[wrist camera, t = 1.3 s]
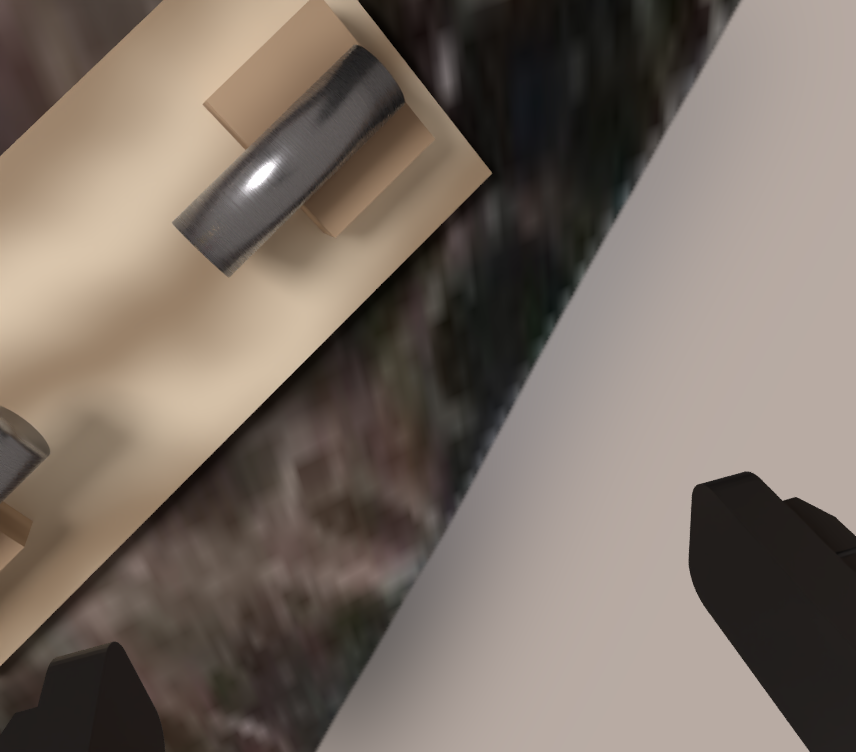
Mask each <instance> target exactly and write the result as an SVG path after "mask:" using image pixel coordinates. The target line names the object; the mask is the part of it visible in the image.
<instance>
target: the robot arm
mask: <svg viewBox="0 0 856 752" xmlns="http://www.w3.org/2000/svg"><path fill="white" fill-rule="evenodd" d="M689 569H690V575H691V578H692V582H693V585H694V587H695V589H696V592H697V594H698V596H699V598H700V600H701V602H702V603H703V605H704V606H705V608H706V609H707V611H708V612H709V613H710V615H711V616H712V617H713V619H714V620H715V622H716V623H717V624H718V626H719V627H720V629H721V630H722V631H723V633H724V634H725V635H726V637H727V638H728V640H729V641H730V642H731V644H732V645H733V646H734V648H735V649H736V650H737V652H738V653H739V655H740V656H741V657H742V659H743V660H744V662H745V663H746V664H747V666H748V667H749V668H750V670H751V671H752V673H753V674H754V675H755V677H756V678H757V679H758V681H759V682H760V684H761V685H762V686H763V688H764V689H765V690H766V692H767V693H768V695H769V696H770V697H771V699H772V700H773V702H774V703H775V704H776V706H777V707H778V709H779V710H780V711H781V713H782V714H783V715H784V717H785V718H786V720H787V721H788V722H789V723H790V725H791V726H792V728H793V729H794V731H795V732H796V733H797V735H798V736H799V737H800V739H801V740H802V742H803V743H804V744H805V746H806V747H807V748H808V750H809V751H810V752H856V536H855V535H854V534H853V533H852V532H851V531H849V530H848V529H847V528H846V527H845V526H844V525H843V524H842V523H841V522H840V521H839V520H838V519H837V518H836V517H834V516H832V515H830V514H828V513H826V512H824V511H822V510H821V509H819V508H816V507H815V506H813V505H811V504H809V503H807V502H805V501H803V500H801V499H799V498H797V497H795V498H791V499H787V500H784V501H782V500H781V499H780V498H779V497H778V496H777V495H776V494H775V493H774V492H773V491H772V490H771V489H770V488H769V487H768V486H767V485H766V484H765V483H764V482H763V481H762V480H761V479H760V478H759V477H758V476H756V475H755V474H753V473H751V472H742V473H738V474H735V475H731V476H727V477H724V478H720V479H717V480H713V481H709V482H706V483H702V484H698V485H696V487H695V488H694V489H693V493H692V506H691V525H690V545H689ZM0 752H165V744H164V736H163V730H162V726H161V722H160V718H159V716H158V713H157V711H156V709H155V707H154V705H153V703H152V701H151V699H150V697H149V696H148V694H147V692H146V690H145V688H144V686H143V684H142V682H141V680H140V679H139V677H138V675H137V673H136V671H135V669H134V667H133V665H132V663H131V662H130V660H129V658H128V656H127V654H126V652H125V650H124V649H123V647H122V646H121V645H120V644H119V643H118V642H111V643H108V644H104V645H100V646H97V647H93V648H89V649H86V650H82V651H78V652H75V653H71V654H67V655H64V656H60V657H56V658H55V659H53V660H52V662H51V663H50V665H49V667H48V670H47V673H46V677H45V681H44V685H43V688H42V692H41V696H40V700H39V704H38V707H36V708H32V709H29V710H25V711H21V712H18V713H15V714H14V716H13V717H12V719H11V720H10V722H9V723H8V724H7V726H6V727H5V729H4V730H3V732H2V733H1V735H0Z"/></svg>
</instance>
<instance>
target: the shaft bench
mask: <svg viewBox="0 0 856 752" xmlns="http://www.w3.org/2000/svg"><path fill="white" fill-rule="evenodd" d="M354 44H357V45H360V46H362V47H363V48H365V49H366V50H368V51H369V52H370V53H371V54H373V55H374V56H375V57H376V58H377V59H378V60H379V61H380V62H381V63H382V64H383V65H384V67H385V68H386V69H387V70H388V71H389V73H390V74H391V75H392V77H393V78H394V79H395V81H396V82H397V84H398V86H399V87H400V89H401V91H402V93H403V95H404V98H405V104H404V106H403V107H402V108H401V109H400V110H399V111H398V112H396V113H395V114H394V115H393V116H392V117H391V118H390V119H389V120H388V121H387V122H386V123H385V124H384V125H383V126H382V127H381V128H380V129H379V130H378V131H377V132H376V133H375V134H374V135H373V136H372V137H371V138H370V139H369V140H368V141H367V142H366V143H365V144H364V145H363V146H362V147H361V148H360V149H359V150H358V151H357V152H356V153H355V154H354V155H353V156H352V157H351V158H350V159H349V160H348V161H347V162H346V163H345V164H344V165H343V166H342V167H341V168H340V169H339V170H338V171H337V172H336V173H335V174H334V175H333V176H332V177H331V178H330V179H329V180H328V181H327V182H326V183H325V184H324V185H323V186H322V187H321V188H320V189H319V190H318V191H316V192H315V193H314V194H313V195H312V196H311V197H310V198H309V199H308V200H307V201H306V202H305V203H304V204H303V205H302V206H301V207H300V208H299V209H298V210H297V211H296V212H295V213H294V214H293V215H292V216H291V217H290V218H289V219H288V220H287V221H286V222H285V223H284V224H283V225H282V226H281V227H280V228H279V229H278V230H277V231H276V232H275V233H274V234H273V235H272V236H271V237H270V238H269V239H268V240H267V241H266V242H265V243H264V244H263V245H262V246H261V247H260V248H259V249H258V250H257V251H256V252H255V253H254V254H253V255H252V256H251V257H250V258H249V259H248V260H247V261H246V262H245V263H244V264H243V265H242V266H241V267H240V268H239V269H238V270H236V271H235V272H234V273H233V274H232V275H231V276H230V277H227V276H226V275H225V274H224V273H222V272H221V271H220V270H219V269H218V268H217V267H216V266H215V265H213V264H212V263H211V262H210V261H209V260H208V259H207V258H206V257H205V256H204V255H203V254H202V253H201V252H200V251H199V250H198V249H197V248H195V247H194V246H193V245H192V244H191V243H190V242H189V241H188V240H187V239H186V238H185V237H184V236H183V235H182V234H181V233H180V232H179V231H178V229H177V228H176V227H175V226H174V225H173V224H172V222H173V221H174V220H175V219H176V218H177V217H178V216H179V215H180V214H181V213H182V212H183V211H184V210H185V209H186V208H187V207H188V206H189V205H190V204H191V203H192V202H193V201H194V200H195V199H196V198H197V197H198V196H199V195H200V194H201V193H202V192H203V191H204V190H205V189H206V188H207V187H208V186H209V185H211V184H212V183H213V182H214V181H215V180H216V179H217V178H218V177H219V176H220V175H221V174H222V173H223V172H224V171H225V170H226V169H227V168H228V167H229V166H230V165H231V164H232V163H233V162H234V161H235V160H236V159H237V158H238V157H239V156H240V155H241V154H242V153H243V152H244V151H245V150H246V149H247V148H248V147H249V146H250V145H251V144H252V143H253V142H255V141H256V140H257V139H258V138H259V137H260V136H261V135H262V134H263V133H264V132H265V131H266V130H267V129H268V128H269V127H270V126H271V125H272V124H273V123H274V122H275V121H276V120H277V119H278V118H279V117H280V116H281V115H282V114H283V113H284V112H285V111H286V110H287V109H288V108H289V107H290V106H291V105H292V104H293V103H294V102H295V101H296V100H297V99H298V98H300V97H301V96H302V95H303V94H304V93H305V92H306V91H307V90H308V89H309V88H310V87H311V86H312V85H313V84H314V83H315V82H316V81H317V80H318V79H319V78H320V77H321V76H322V75H323V74H324V73H325V72H326V71H327V70H328V69H329V68H330V67H331V66H332V65H333V64H334V63H335V62H336V61H337V60H338V59H339V58H340V57H341V56H342V55H344V54H345V53H346V52H347V51H348V50H349V49H350V48H351V47H352V46H353V45H354ZM491 174H492V172H491V171H490V170H489V169H488V167H487V166H486V165H485V163H484V162H483V161H482V160H481V158H480V157H479V156H478V154H477V153H476V152H475V151H474V149H473V148H472V147H471V145H470V144H469V143H468V142H467V140H466V139H465V138H464V136H463V135H462V134H461V133H460V131H459V130H458V129H457V127H456V126H455V125H454V124H453V122H452V121H451V120H450V118H449V117H448V116H447V115H446V113H445V112H444V111H443V109H442V108H441V107H440V106H439V104H438V103H437V102H436V100H435V99H434V98H433V97H432V95H431V94H430V93H429V91H428V90H427V89H426V88H425V86H424V85H423V84H422V82H421V81H420V80H419V79H418V77H417V76H416V75H415V73H414V72H413V71H412V70H411V68H410V67H409V66H408V65H407V63H406V62H405V61H404V59H403V58H402V57H401V56H400V54H399V53H398V52H397V50H396V49H395V48H394V47H393V45H392V44H391V43H390V41H389V40H388V39H387V38H386V36H385V35H384V34H383V32H382V31H381V30H380V29H379V27H378V26H377V25H376V23H375V22H374V21H373V20H372V18H371V17H370V16H369V14H368V13H367V12H366V11H365V9H364V8H363V7H362V5H361V4H360V3H359V2H358V0H163V1H162V2H161V3H160V4H159V5H158V6H157V7H156V8H155V9H154V10H153V11H152V12H151V13H150V14H149V15H148V16H147V17H146V18H144V19H143V20H142V21H141V22H140V23H139V24H138V25H137V26H136V27H135V28H134V29H133V30H132V31H131V32H130V33H129V34H128V35H127V36H126V37H125V38H124V39H123V40H121V41H120V42H119V43H118V44H117V45H116V46H115V47H114V48H113V49H112V50H111V51H110V52H109V53H108V54H107V55H106V56H105V57H104V58H103V59H102V60H101V61H100V62H98V63H97V64H96V65H95V66H94V67H93V68H92V69H91V70H90V71H89V72H88V73H87V74H86V75H85V76H84V77H83V78H82V79H81V80H80V81H79V82H78V83H77V84H75V85H74V86H73V87H72V88H71V89H70V90H69V91H68V92H67V93H66V94H65V95H64V96H63V97H62V98H61V99H60V100H59V101H58V102H57V103H56V104H55V105H54V106H52V107H51V108H50V109H49V110H48V111H47V112H46V113H45V114H44V115H43V116H42V117H41V118H40V119H39V120H38V121H37V122H36V123H35V124H34V125H33V126H32V127H31V128H29V129H28V130H27V131H26V132H25V133H24V134H23V135H22V136H21V137H20V138H19V139H18V140H17V141H16V142H15V143H14V144H13V145H12V146H11V147H10V148H9V149H8V150H6V151H5V152H4V153H3V154H2V155H1V156H0V406H2V407H4V408H7V409H9V410H11V411H12V412H14V413H16V414H17V415H19V416H20V417H22V418H23V419H25V420H26V421H27V422H29V423H30V424H31V425H32V426H33V427H34V428H35V429H36V430H37V431H38V432H39V433H40V434H41V435H42V436H43V438H44V439H45V440H46V442H47V444H48V446H49V448H50V455H49V456H48V457H47V458H46V459H45V460H44V461H43V462H42V463H41V464H40V465H39V466H38V467H37V468H36V469H35V470H34V471H33V472H32V473H31V474H30V475H29V476H28V477H27V478H26V479H25V480H24V481H23V482H22V483H21V484H20V485H19V486H18V487H17V488H16V489H15V490H14V491H13V492H12V493H11V494H10V495H9V496H8V497H7V498H6V499H5V500H4V501H3V502H2V503H1V504H0V666H1V665H2V664H3V663H4V662H5V661H6V660H7V659H8V658H9V657H10V656H11V655H12V654H13V653H14V652H15V651H16V650H17V649H18V648H19V647H20V646H21V645H22V644H23V643H24V642H25V641H26V640H27V639H28V638H29V637H30V636H31V635H32V634H33V633H34V632H35V631H36V630H37V629H38V628H39V627H40V626H41V625H42V624H43V623H44V622H45V621H46V620H47V619H48V618H49V617H50V616H51V615H52V614H53V613H54V612H55V611H56V610H57V609H58V608H59V607H60V606H61V605H62V604H63V603H64V602H65V601H66V600H67V599H68V598H69V597H70V596H71V595H72V594H73V593H74V592H75V591H76V590H77V589H78V588H79V587H80V586H81V585H82V584H83V583H84V582H85V581H86V580H87V579H88V578H89V577H90V576H91V575H92V574H93V573H94V572H95V571H96V570H97V569H98V568H99V567H100V566H101V565H102V564H103V563H104V562H105V561H106V560H107V559H108V558H109V557H110V556H111V555H112V554H113V553H114V552H115V551H116V550H117V549H118V548H119V547H120V546H121V545H122V544H123V543H124V542H125V541H126V540H127V539H128V538H129V537H130V536H131V535H132V534H133V533H134V532H135V531H136V530H137V529H138V528H139V527H140V526H141V525H142V524H143V523H144V522H145V521H146V520H147V519H148V518H149V517H150V516H151V515H152V514H153V513H154V512H155V511H156V510H157V509H158V508H159V507H160V506H161V505H162V504H163V503H164V502H165V501H166V500H167V499H168V498H169V497H170V496H171V495H172V494H173V493H174V492H175V491H176V490H177V488H178V487H179V486H180V485H181V484H182V483H183V482H184V481H185V480H186V479H187V478H188V477H189V476H190V475H191V474H192V473H193V472H194V471H195V470H196V469H197V468H198V467H199V466H200V465H201V464H202V463H203V462H204V461H205V460H206V459H207V458H208V457H209V456H210V455H211V454H212V453H213V452H214V451H215V450H216V449H217V448H218V447H219V446H220V445H221V444H222V443H223V442H224V441H225V440H226V439H227V438H228V437H229V436H230V435H231V434H232V433H233V432H234V431H235V430H236V429H237V428H238V427H239V426H240V425H241V424H242V423H243V422H244V421H245V420H246V419H247V418H248V417H249V416H250V415H251V414H252V413H253V412H254V411H255V410H256V409H257V408H258V407H259V406H260V405H261V404H262V403H263V402H264V401H265V400H266V399H267V398H268V397H269V396H270V395H271V394H272V393H273V392H274V391H275V390H276V389H277V388H278V387H279V386H280V385H281V384H282V383H283V382H284V381H285V380H286V379H287V378H288V377H289V376H290V375H291V374H292V373H293V372H294V371H295V370H296V369H297V368H298V367H299V366H300V365H301V364H302V363H303V362H304V361H305V360H306V359H307V358H308V357H309V356H310V355H311V354H312V353H313V352H314V351H315V350H316V349H317V348H318V347H319V346H320V345H321V344H322V343H323V342H324V341H325V340H326V339H327V338H328V337H329V336H330V335H331V334H332V333H333V332H334V331H335V330H336V329H337V328H338V327H339V326H340V325H341V324H342V323H343V322H344V321H345V320H346V319H347V318H348V317H349V316H350V315H351V314H352V313H353V312H354V311H355V310H356V309H357V308H358V307H359V306H360V305H361V304H362V303H363V302H364V301H365V300H366V299H367V298H368V297H369V296H370V295H371V294H372V293H373V292H374V291H375V290H376V289H377V288H378V287H379V286H380V285H381V284H382V283H383V282H384V281H385V280H386V279H387V278H388V277H389V276H390V275H391V274H392V273H393V272H394V271H395V270H396V269H397V268H398V267H399V266H400V265H401V264H402V263H403V262H404V261H405V260H406V259H407V258H408V257H409V256H410V255H411V254H412V253H413V252H414V251H415V250H416V249H417V248H418V247H419V246H420V245H421V244H422V243H423V242H424V241H425V240H426V239H427V238H428V237H429V236H430V235H431V234H432V233H433V232H434V231H435V230H436V229H437V228H438V227H439V226H440V225H441V224H442V223H443V222H444V221H445V220H446V219H447V218H448V217H449V216H450V215H451V214H452V213H453V212H454V211H455V210H456V209H457V208H458V207H459V206H460V205H461V204H462V203H463V202H464V201H465V200H466V199H467V198H468V197H469V196H470V195H471V194H472V193H473V192H474V191H475V190H476V189H477V188H478V187H479V186H480V185H481V184H482V183H483V182H484V181H485V180H486V179H487V178H488V177H489V176H490V175H491Z"/></svg>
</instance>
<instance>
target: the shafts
mask: <svg viewBox="0 0 856 752" xmlns="http://www.w3.org/2000/svg"><path fill="white" fill-rule="evenodd" d="M404 104H405V98H404V95H403V93H402V91H401V89H400V87H399V86H398V84H397V82H396V81H395V79H394V78H393V77H392V75H391V74H390V73H389V71H388V70H387V69H386V68H385V67H384V65H383V64H382V63H381V62H380V61H379V60H378V59H377V58H376V57H375V56H374V55H373V54H371V53H370V52H369V51H368V50H366V49H365V48H363V47H362V46H360V45H357V44H354V45H353V46H352V47H351V48H350V49H349V50H348V51H347V52H346V53H345V54H344V55H342V56H341V57H340V58H339V59H338V60H337V61H336V62H335V63H334V64H333V65H332V66H331V67H330V68H329V69H328V70H327V71H326V72H325V73H324V74H323V75H322V76H321V77H320V78H319V79H318V80H317V81H316V82H315V83H314V84H313V85H312V86H311V87H310V88H309V89H308V90H307V91H306V92H305V93H304V94H303V95H302V96H301V97H300V98H298V99H297V100H296V101H295V102H294V103H293V104H292V105H291V106H290V107H289V108H288V109H287V110H286V111H285V112H284V113H283V114H282V115H281V116H280V117H279V118H278V119H277V120H276V121H275V122H274V123H273V124H272V125H271V126H270V127H269V128H268V129H267V130H266V131H265V132H264V133H263V134H262V135H261V136H260V137H259V138H258V139H257V140H256V141H255V142H253V143H252V144H251V145H250V146H249V147H248V148H247V149H246V150H245V151H244V152H243V153H242V154H241V155H240V156H239V157H238V158H237V159H236V160H235V161H234V162H233V163H232V164H231V165H230V166H229V167H228V168H227V169H226V170H225V171H224V172H223V173H222V174H221V175H220V176H219V177H218V178H217V179H216V180H215V181H214V182H213V183H212V184H211V185H209V186H208V187H207V188H206V189H205V190H204V191H203V192H202V193H201V194H200V195H199V196H198V197H197V198H196V199H195V200H194V201H193V202H192V203H191V204H190V205H189V206H188V207H187V208H186V209H185V210H184V211H183V212H182V213H181V214H180V215H179V216H178V217H177V218H176V219H175V220H174V221H173V222H172V224H173V225H174V226H175V227H176V228H177V229H178V231H179V232H180V233H181V234H182V235H183V236H184V237H185V238H186V239H187V240H188V241H189V242H190V243H191V244H192V245H193V246H194V247H195V248H197V249H198V250H199V251H200V252H201V253H202V254H203V255H204V256H205V257H206V258H207V259H208V260H209V261H210V262H211V263H212V264H213V265H215V266H216V267H217V268H218V269H219V270H220V271H221V272H222V273H224V274H225V275H226V276H227V277H230V276H231V275H232V274H233V273H234V272H235V271H236V270H238V269H239V268H240V267H241V266H242V265H243V264H244V263H245V262H246V261H247V260H248V259H249V258H250V257H251V256H252V255H253V254H254V253H255V252H256V251H257V250H258V249H259V248H260V247H261V246H262V245H263V244H264V243H265V242H266V241H267V240H268V239H269V238H270V237H271V236H272V235H273V234H274V233H275V232H276V231H277V230H278V229H279V228H280V227H281V226H282V225H283V224H284V223H285V222H286V221H287V220H288V219H289V218H290V217H291V216H292V215H293V214H294V213H295V212H296V211H297V210H298V209H299V208H300V207H301V206H302V205H303V204H304V203H305V202H306V201H307V200H308V199H309V198H310V197H311V196H312V195H313V194H314V193H315V192H316V191H318V190H319V189H320V188H321V187H322V186H323V185H324V184H325V183H326V182H327V181H328V180H329V179H330V178H331V177H332V176H333V175H334V174H335V173H336V172H337V171H338V170H339V169H340V168H341V167H342V166H343V165H344V164H345V163H346V162H347V161H348V160H349V159H350V158H351V157H352V156H353V155H354V154H355V153H356V152H357V151H358V150H359V149H360V148H361V147H362V146H363V145H364V144H365V143H366V142H367V141H368V140H369V139H370V138H371V137H372V136H373V135H374V134H375V133H376V132H377V131H378V130H379V129H380V128H381V127H382V126H383V125H384V124H385V123H386V122H387V121H388V120H389V119H390V118H391V117H392V116H393V115H394V114H395V113H396V112H398V111H399V110H400V109H401V108H402V107H403V106H404ZM49 455H50V448H49V446H48V444H47V442H46V440H45V439H44V438H43V436H42V435H41V434H40V433H39V432H38V431H37V430H36V429H35V428H34V427H33V426H32V425H31V424H30V423H29V422H27V421H26V420H25V419H23V418H22V417H20V416H19V415H17V414H16V413H14V412H12V411H11V410H9V409H7V408H4V407H2V406H0V504H1V503H2V502H3V501H4V500H5V499H6V498H7V497H8V496H9V495H10V494H11V493H12V492H13V491H14V490H15V489H16V488H17V487H18V486H19V485H20V484H21V483H22V482H23V481H24V480H25V479H26V478H27V477H28V476H29V475H30V474H31V473H32V472H33V471H34V470H35V469H36V468H37V467H38V466H39V465H40V464H41V463H42V462H43V461H44V460H45V459H46V458H47V457H48V456H49Z"/></svg>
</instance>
